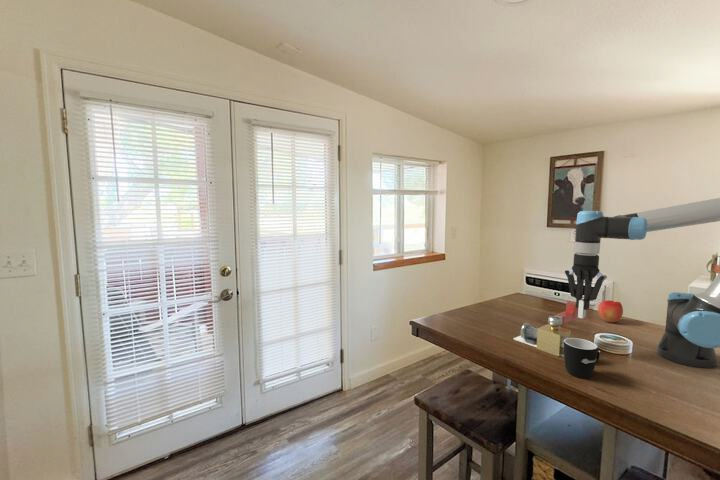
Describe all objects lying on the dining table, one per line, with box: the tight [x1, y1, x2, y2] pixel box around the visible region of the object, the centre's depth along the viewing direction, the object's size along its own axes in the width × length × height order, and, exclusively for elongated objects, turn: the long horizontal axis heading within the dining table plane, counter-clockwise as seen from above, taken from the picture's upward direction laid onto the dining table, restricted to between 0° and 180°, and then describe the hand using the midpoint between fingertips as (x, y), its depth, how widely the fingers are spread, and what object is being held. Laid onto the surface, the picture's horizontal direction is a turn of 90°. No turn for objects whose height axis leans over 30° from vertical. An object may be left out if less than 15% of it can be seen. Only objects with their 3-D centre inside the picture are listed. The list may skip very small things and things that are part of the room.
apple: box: [597, 299, 624, 323], centre depth 153 cm, size 10×10×10 cm
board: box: [513, 334, 601, 358], centre depth 128 cm, size 25×15×1 cm, turn 34°
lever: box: [547, 300, 578, 327], centre depth 127 cm, size 17×4×6 cm, turn 124°
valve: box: [519, 322, 572, 357], centre depth 124 cm, size 22×8×10 cm, turn 34°
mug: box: [563, 337, 601, 379], centre depth 107 cm, size 12×9×10 cm
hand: (581, 317), depth 122 cm, fingers closed
